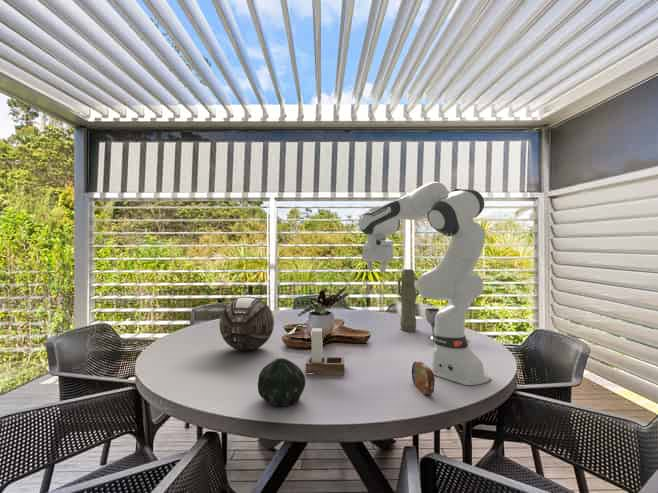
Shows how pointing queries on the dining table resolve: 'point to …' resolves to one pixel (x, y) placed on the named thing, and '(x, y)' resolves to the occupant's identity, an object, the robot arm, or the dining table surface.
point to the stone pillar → (408, 300)
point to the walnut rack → (326, 366)
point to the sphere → (246, 323)
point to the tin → (423, 377)
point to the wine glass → (431, 319)
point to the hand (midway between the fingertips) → (376, 271)
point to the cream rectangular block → (316, 345)
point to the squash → (281, 382)
